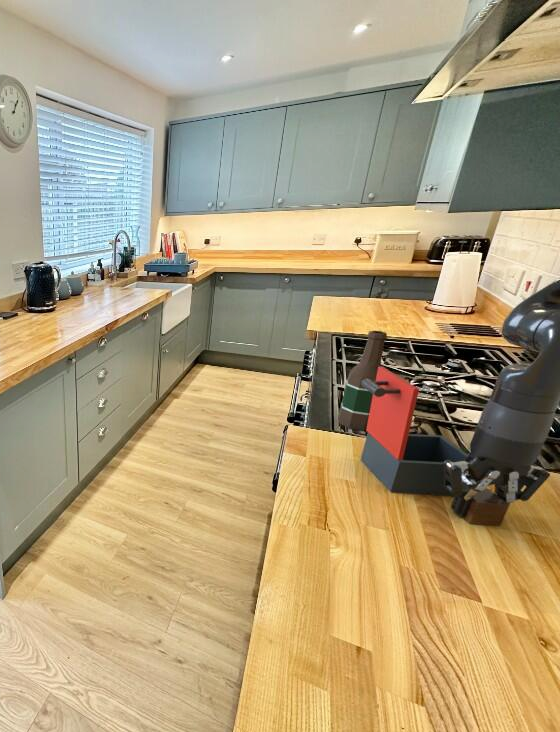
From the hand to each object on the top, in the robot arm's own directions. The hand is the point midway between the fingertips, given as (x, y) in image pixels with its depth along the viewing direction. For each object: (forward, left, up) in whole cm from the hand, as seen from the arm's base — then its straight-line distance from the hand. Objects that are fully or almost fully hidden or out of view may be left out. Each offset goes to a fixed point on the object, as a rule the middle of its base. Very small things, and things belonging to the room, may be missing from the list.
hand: (475, 514), depth 73 cm
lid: (+14, -6, +14) cm, 21 cm away
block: (0, 0, 0) cm, 0 cm away
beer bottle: (+18, -30, -1) cm, 35 cm away
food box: (+8, -9, 0) cm, 12 cm away
